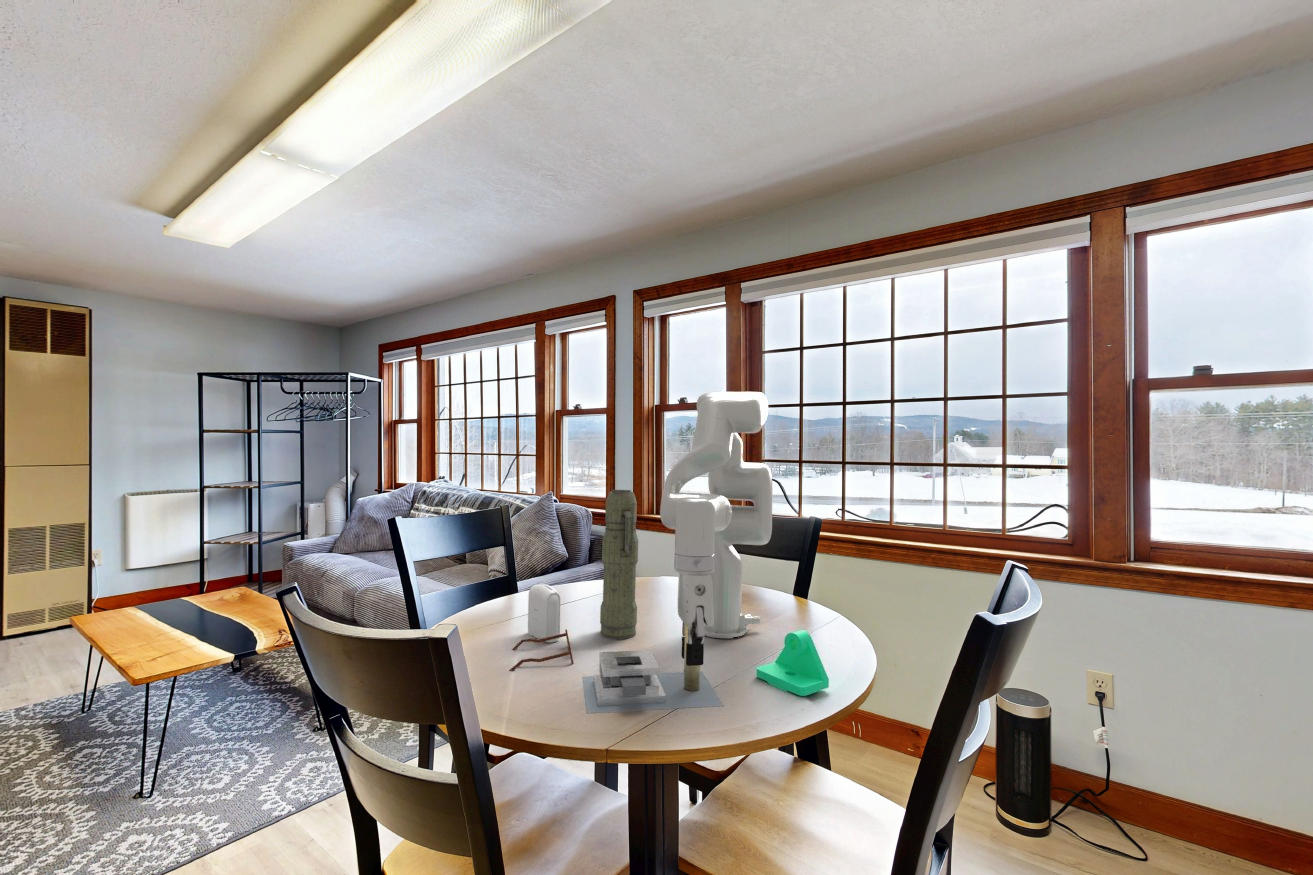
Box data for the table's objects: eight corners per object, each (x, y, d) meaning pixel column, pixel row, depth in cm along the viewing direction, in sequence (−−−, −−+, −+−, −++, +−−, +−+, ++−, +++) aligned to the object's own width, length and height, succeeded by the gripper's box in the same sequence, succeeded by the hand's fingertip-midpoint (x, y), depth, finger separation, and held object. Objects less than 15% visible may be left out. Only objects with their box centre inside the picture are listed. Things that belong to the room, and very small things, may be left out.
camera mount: (754, 681, 116) (754, 628, 117) (779, 672, 121) (780, 622, 121) (802, 702, 107) (803, 645, 107) (828, 693, 111) (829, 638, 112)
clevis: (655, 678, 115) (655, 649, 115) (668, 708, 101) (669, 675, 101) (593, 681, 112) (594, 651, 113) (598, 712, 99) (599, 679, 99)
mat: (701, 674, 119) (701, 671, 119) (724, 709, 103) (724, 705, 103) (582, 679, 115) (582, 676, 115) (586, 716, 99) (586, 713, 99)
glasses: (574, 669, 121) (574, 645, 121) (508, 673, 118) (509, 648, 118) (569, 648, 134) (570, 626, 134) (510, 651, 131) (511, 628, 131)
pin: (699, 683, 112) (700, 606, 113) (703, 691, 109) (705, 611, 109) (679, 684, 112) (681, 606, 112) (683, 692, 108) (685, 612, 108)
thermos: (623, 624, 151) (626, 488, 152) (645, 637, 141) (648, 491, 142) (591, 628, 147) (595, 488, 148) (612, 643, 137) (615, 492, 137)
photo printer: (525, 633, 142) (526, 582, 143) (540, 629, 145) (542, 579, 145) (545, 644, 134) (547, 590, 135) (562, 641, 137) (563, 588, 137)
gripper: (725, 571, 103) (723, 677, 103) (702, 555, 119) (700, 646, 119) (684, 572, 102) (681, 679, 102) (666, 555, 118) (664, 647, 118)
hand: (692, 660), depth 110 cm, fingers closed on pin, 3 cm apart
